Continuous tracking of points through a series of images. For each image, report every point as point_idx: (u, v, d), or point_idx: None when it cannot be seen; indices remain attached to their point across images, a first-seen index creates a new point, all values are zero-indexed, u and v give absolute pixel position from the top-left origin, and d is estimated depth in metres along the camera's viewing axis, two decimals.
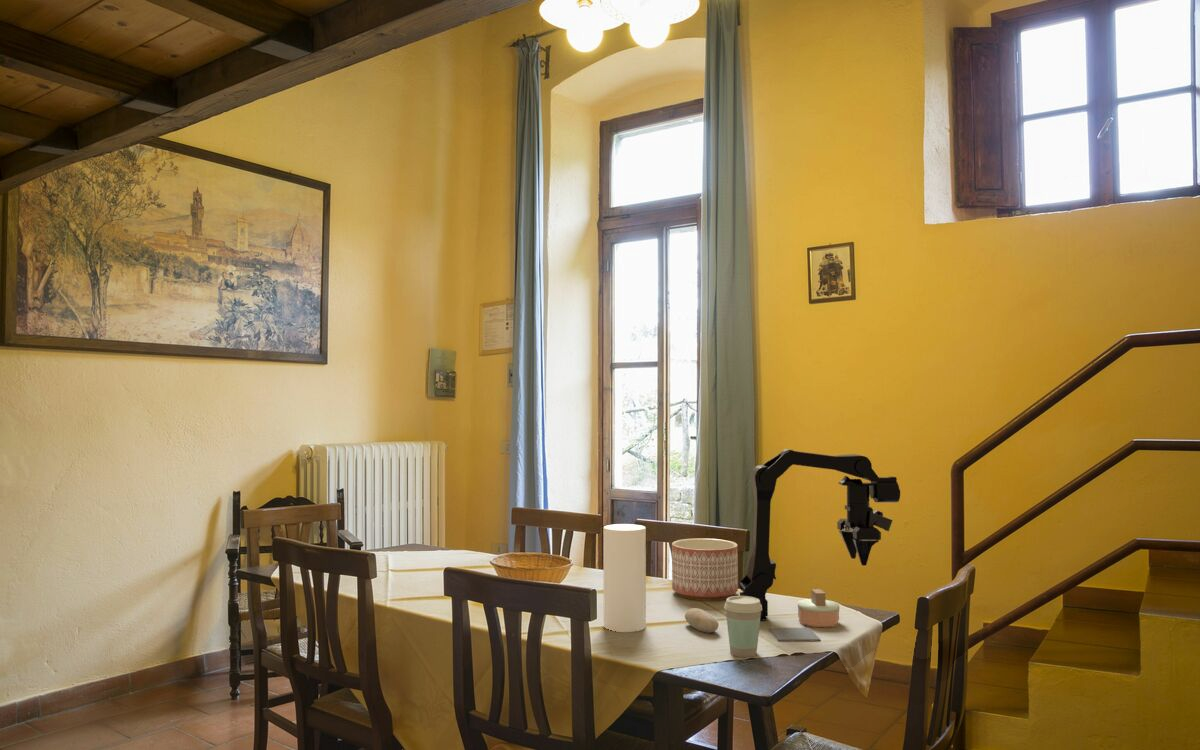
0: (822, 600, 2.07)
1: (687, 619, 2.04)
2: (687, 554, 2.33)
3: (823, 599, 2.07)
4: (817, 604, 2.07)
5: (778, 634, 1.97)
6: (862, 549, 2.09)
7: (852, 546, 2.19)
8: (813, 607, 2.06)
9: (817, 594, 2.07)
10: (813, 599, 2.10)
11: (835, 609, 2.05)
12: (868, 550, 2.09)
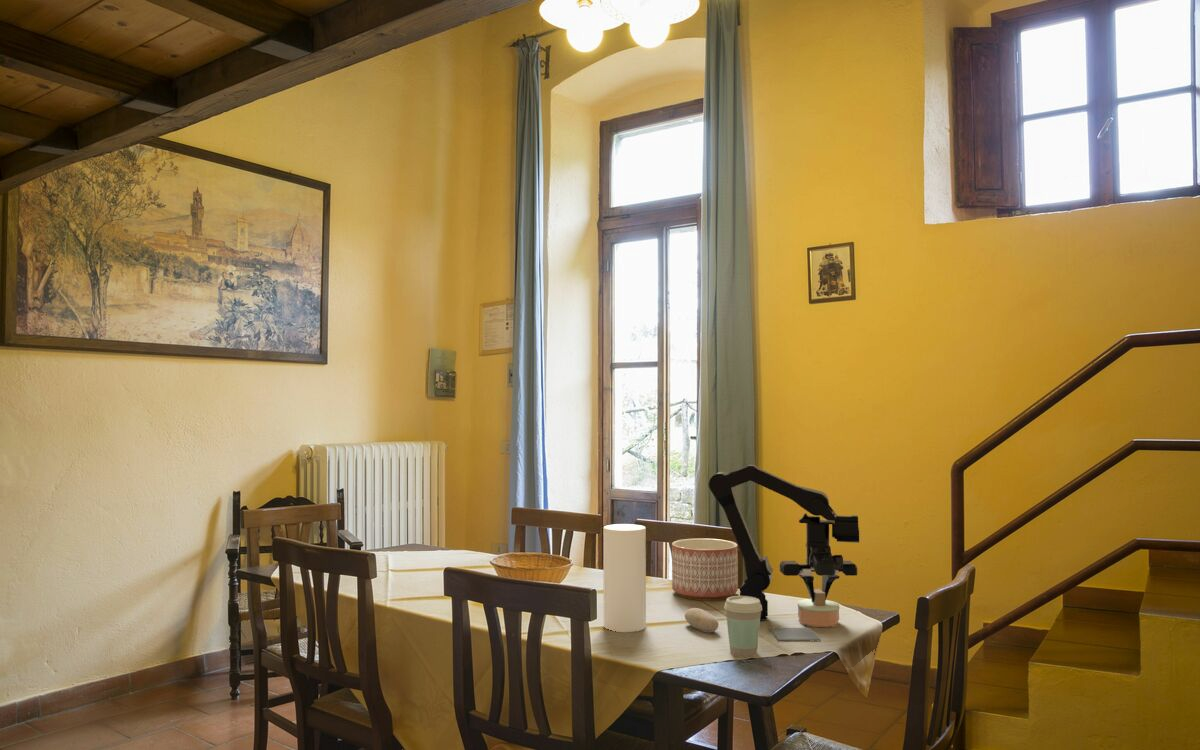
0: (822, 600, 2.07)
1: (687, 619, 2.04)
2: (687, 554, 2.33)
3: (823, 599, 2.07)
4: (817, 604, 2.07)
5: (778, 634, 1.97)
6: (807, 584, 2.10)
7: (823, 589, 2.10)
8: (813, 607, 2.06)
9: (817, 594, 2.07)
10: None
11: (835, 609, 2.05)
12: None
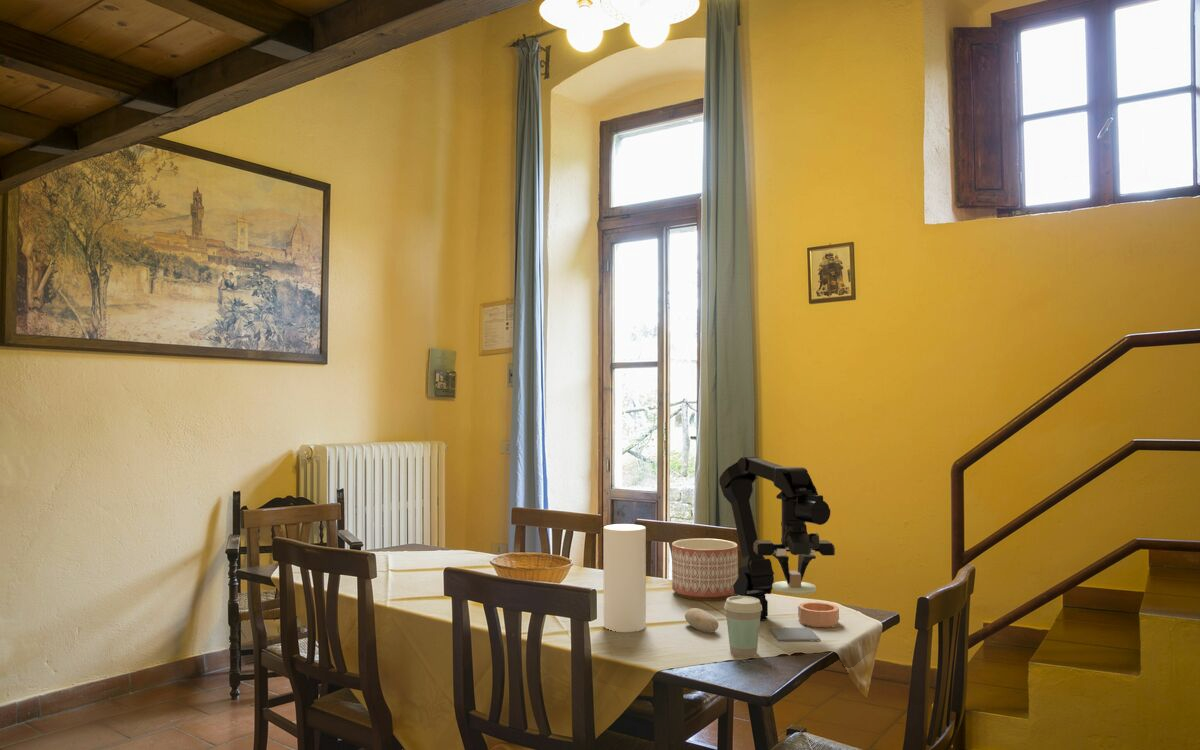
0: (797, 582, 1.96)
1: (687, 619, 2.04)
2: (687, 554, 2.33)
3: (799, 581, 1.96)
4: (792, 586, 1.96)
5: (778, 634, 1.97)
6: (782, 565, 1.99)
7: (799, 569, 1.99)
8: (788, 589, 1.95)
9: (792, 575, 1.96)
10: None
11: (811, 591, 1.94)
12: None
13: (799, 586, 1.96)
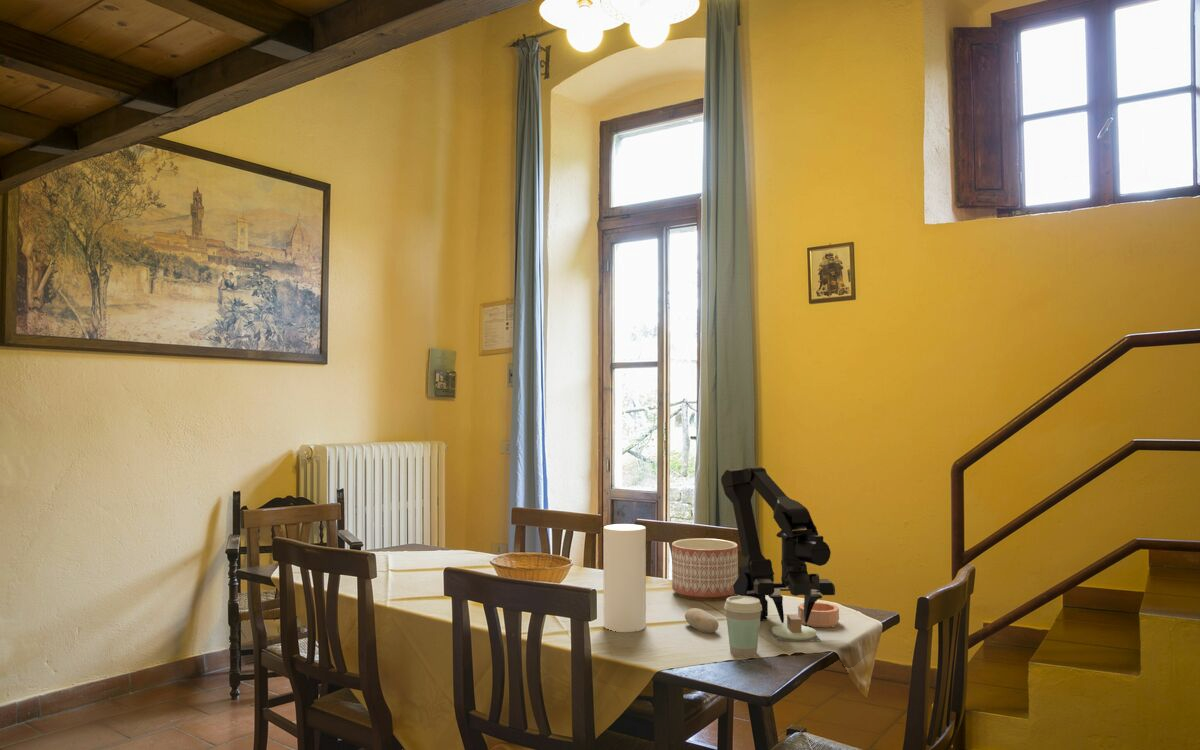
0: (798, 627, 1.96)
1: (687, 619, 2.04)
2: (687, 554, 2.33)
3: (799, 625, 1.96)
4: (792, 631, 1.96)
5: None
6: (776, 604, 1.99)
7: (805, 609, 1.98)
8: (788, 634, 1.94)
9: (792, 620, 1.96)
10: (789, 625, 1.98)
11: (811, 636, 1.94)
12: None
13: (799, 631, 1.96)
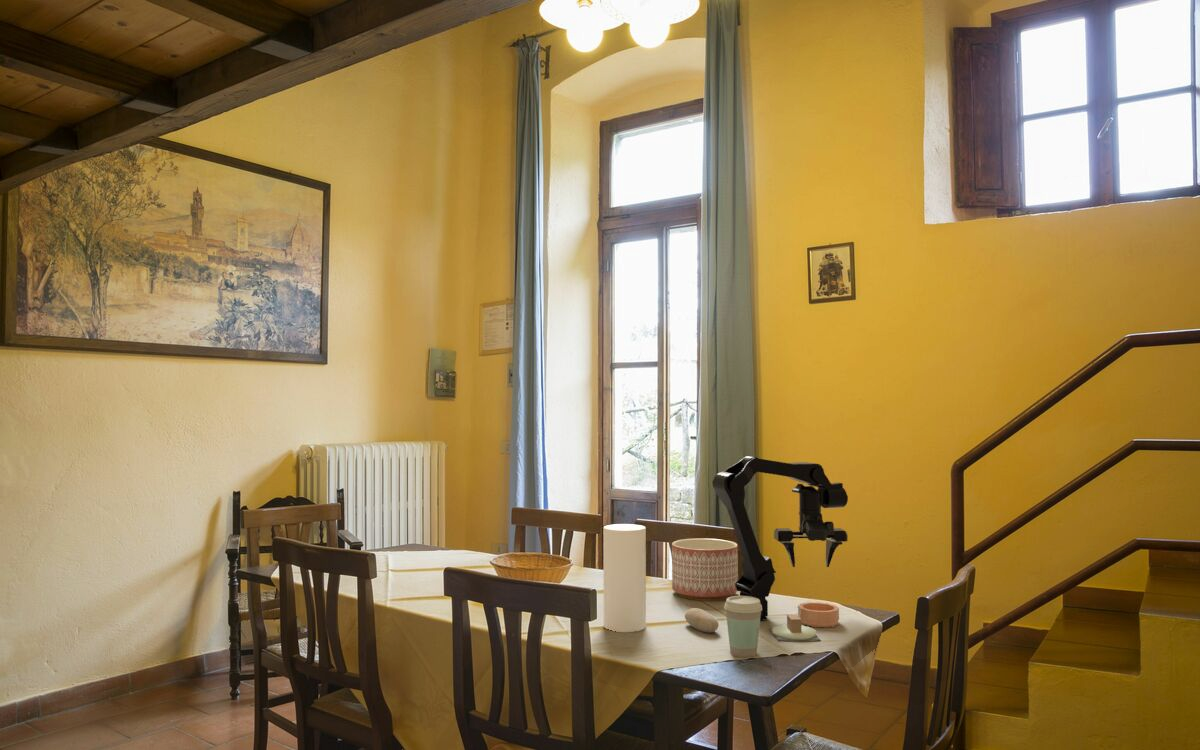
0: (798, 627, 1.96)
1: (687, 619, 2.04)
2: (687, 554, 2.33)
3: (799, 626, 1.96)
4: (792, 631, 1.96)
5: None
6: (788, 550, 2.21)
7: (827, 554, 2.21)
8: (788, 634, 1.94)
9: (792, 620, 1.96)
10: (789, 625, 1.98)
11: (811, 636, 1.94)
12: None
13: (799, 631, 1.96)
